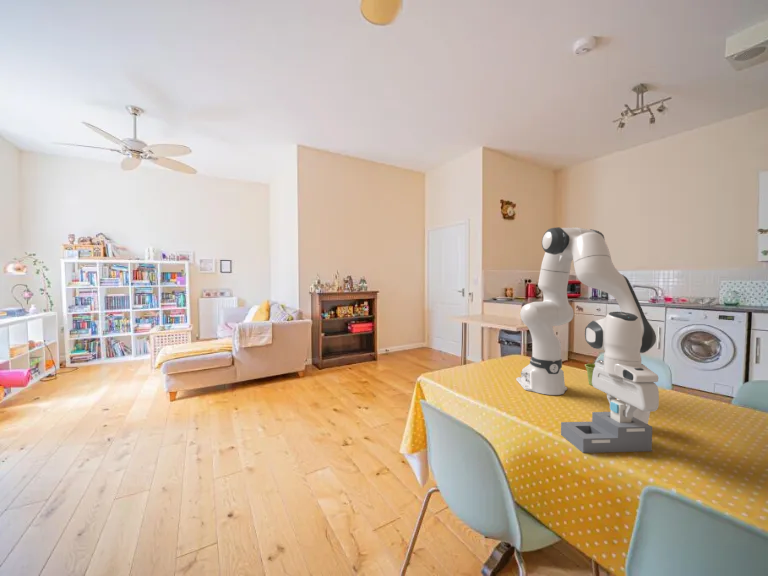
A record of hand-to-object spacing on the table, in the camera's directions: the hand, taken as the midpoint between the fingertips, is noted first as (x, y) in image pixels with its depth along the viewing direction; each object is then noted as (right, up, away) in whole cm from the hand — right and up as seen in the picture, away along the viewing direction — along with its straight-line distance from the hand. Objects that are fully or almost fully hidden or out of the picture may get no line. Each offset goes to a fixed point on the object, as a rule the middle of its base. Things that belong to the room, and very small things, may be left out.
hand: (620, 413), depth 91 cm
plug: (0, -6, 0) cm, 6 cm away
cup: (+12, -9, +10) cm, 17 cm away
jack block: (-5, -9, 0) cm, 10 cm away
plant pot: (+28, -8, +50) cm, 58 cm away
